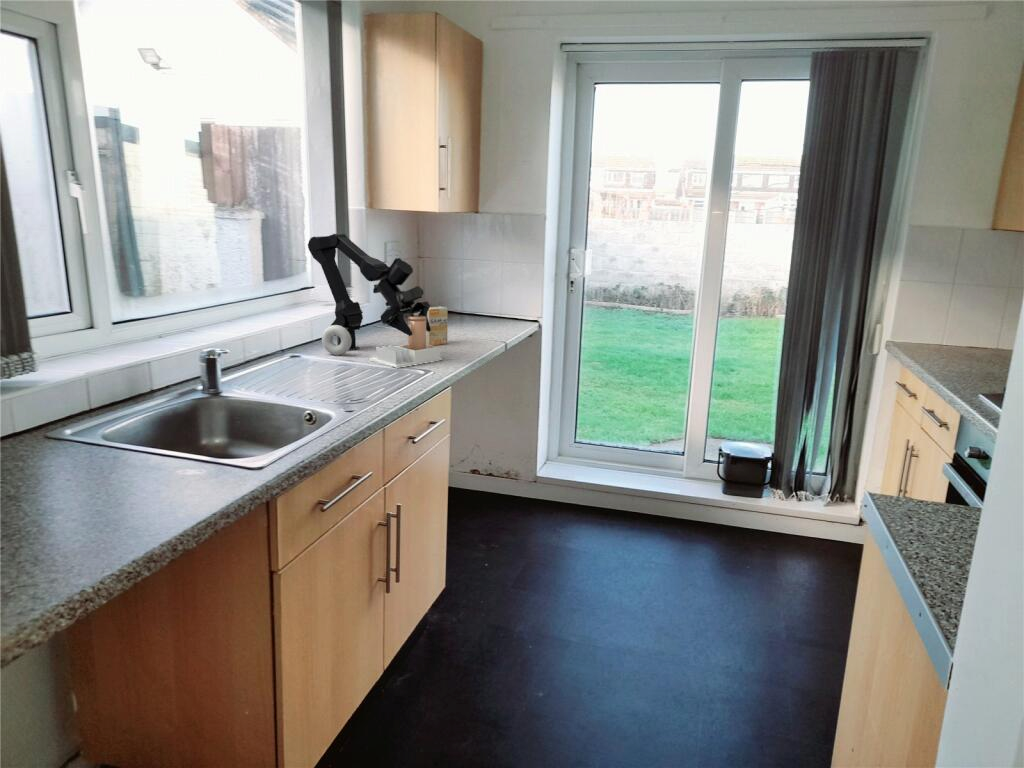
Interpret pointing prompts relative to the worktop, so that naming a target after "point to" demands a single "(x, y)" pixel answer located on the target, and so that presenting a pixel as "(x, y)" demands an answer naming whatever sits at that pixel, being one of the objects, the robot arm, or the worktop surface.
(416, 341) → the tumbler
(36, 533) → the worktop surface
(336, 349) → the donut
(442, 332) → the supplement box
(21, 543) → the worktop surface
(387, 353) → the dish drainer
